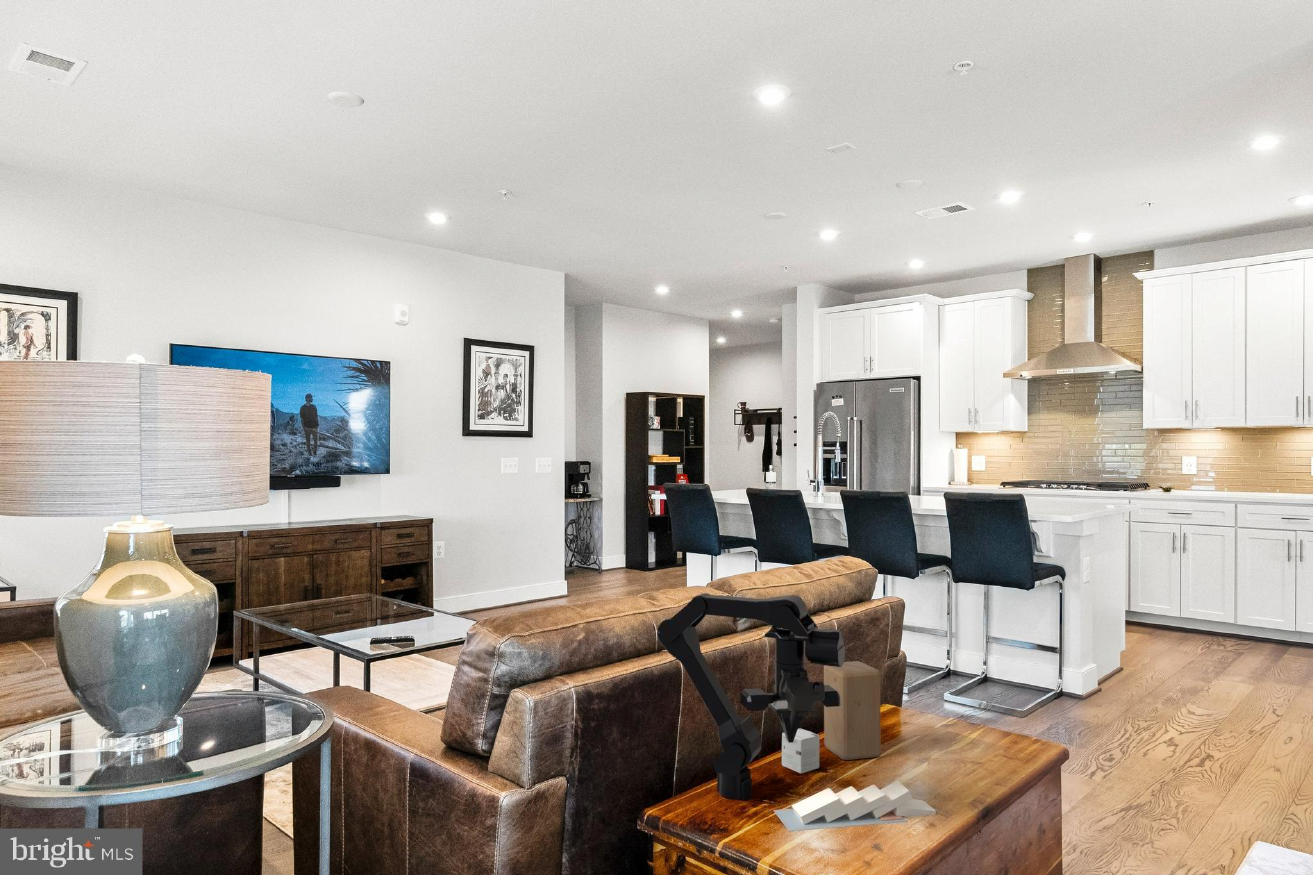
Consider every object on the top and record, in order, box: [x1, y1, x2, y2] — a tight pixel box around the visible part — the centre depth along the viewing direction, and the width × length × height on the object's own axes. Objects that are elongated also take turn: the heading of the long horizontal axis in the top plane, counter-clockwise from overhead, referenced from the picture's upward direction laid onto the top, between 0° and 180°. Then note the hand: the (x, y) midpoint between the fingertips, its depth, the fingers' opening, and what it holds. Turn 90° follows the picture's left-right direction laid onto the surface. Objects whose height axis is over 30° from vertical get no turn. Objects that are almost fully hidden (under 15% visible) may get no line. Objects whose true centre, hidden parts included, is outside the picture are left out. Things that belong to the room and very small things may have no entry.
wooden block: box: [823, 660, 882, 761], centre depth 191 cm, size 10×10×20 cm
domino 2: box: [822, 785, 865, 823], centre depth 154 cm, size 2×5×8 cm
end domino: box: [891, 798, 937, 818], centre depth 157 cm, size 2×5×8 cm
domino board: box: [773, 808, 908, 832], centre depth 154 cm, size 23×9×1 cm, turn 100°
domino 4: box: [870, 780, 913, 819], centre depth 156 cm, size 2×5×8 cm
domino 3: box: [845, 783, 888, 821], centre depth 155 cm, size 2×5×8 cm
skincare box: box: [781, 727, 821, 774], centre depth 182 cm, size 6×6×7 cm
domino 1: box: [791, 787, 842, 824], centre depth 153 cm, size 2×5×8 cm
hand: (790, 742), depth 159 cm, fingers closed
